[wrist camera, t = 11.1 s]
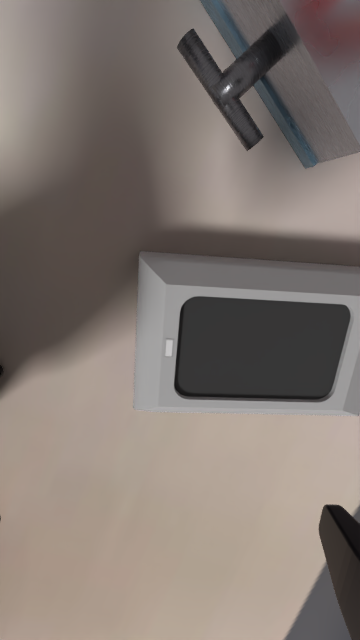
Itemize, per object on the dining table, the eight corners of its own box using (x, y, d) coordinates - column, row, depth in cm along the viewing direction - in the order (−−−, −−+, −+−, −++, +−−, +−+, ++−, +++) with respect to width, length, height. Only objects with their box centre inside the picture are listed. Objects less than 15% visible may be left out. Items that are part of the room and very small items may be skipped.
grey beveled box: (371, 427, 20) (131, 423, 19) (339, 395, 24) (134, 390, 22) (418, 278, 17) (137, 259, 16) (374, 266, 21) (140, 250, 19)
